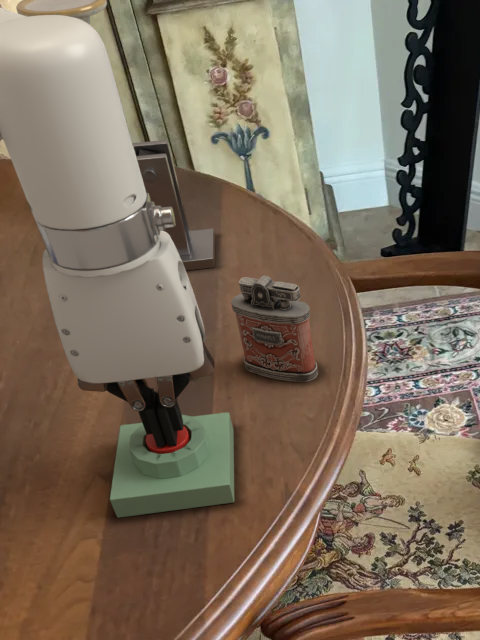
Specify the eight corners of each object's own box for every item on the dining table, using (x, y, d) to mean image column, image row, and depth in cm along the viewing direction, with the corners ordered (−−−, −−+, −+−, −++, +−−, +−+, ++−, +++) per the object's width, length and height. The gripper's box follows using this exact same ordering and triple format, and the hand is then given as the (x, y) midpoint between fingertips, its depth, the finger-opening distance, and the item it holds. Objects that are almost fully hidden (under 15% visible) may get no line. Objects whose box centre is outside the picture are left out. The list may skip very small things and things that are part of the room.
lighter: (239, 371, 81) (219, 282, 74) (254, 353, 83) (236, 265, 76) (309, 385, 79) (296, 296, 72) (323, 366, 81) (311, 277, 74)
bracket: (132, 276, 95) (98, 168, 86) (136, 245, 100) (105, 140, 91) (214, 267, 96) (190, 159, 86) (215, 237, 101) (192, 132, 92)
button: (149, 467, 68) (144, 452, 66) (152, 440, 70) (147, 425, 69) (191, 462, 68) (187, 446, 67) (192, 435, 70) (188, 420, 69)
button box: (117, 518, 67) (102, 484, 64) (126, 443, 74) (114, 409, 71) (234, 502, 68) (225, 468, 65) (233, 430, 75) (225, 396, 72)
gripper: (209, 197, 57) (253, 399, 71) (-1, 218, 56) (85, 420, 70) (207, 245, 52) (256, 453, 66) (-23, 270, 51) (74, 477, 65)
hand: (168, 436), depth 68 cm, fingers closed
